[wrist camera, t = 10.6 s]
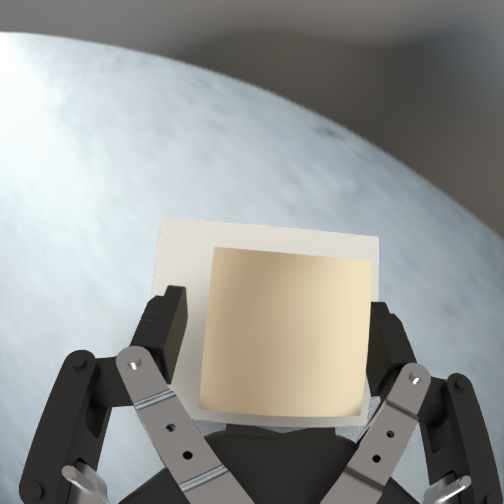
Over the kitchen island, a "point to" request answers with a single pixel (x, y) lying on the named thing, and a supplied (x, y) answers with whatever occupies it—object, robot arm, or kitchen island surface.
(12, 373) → the kitchen island surface
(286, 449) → the robot arm
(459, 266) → the kitchen island surface
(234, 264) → the birch block
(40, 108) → the kitchen island surface
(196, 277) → the felt mat
